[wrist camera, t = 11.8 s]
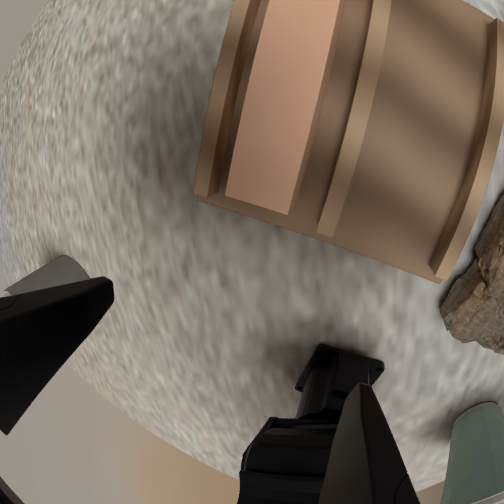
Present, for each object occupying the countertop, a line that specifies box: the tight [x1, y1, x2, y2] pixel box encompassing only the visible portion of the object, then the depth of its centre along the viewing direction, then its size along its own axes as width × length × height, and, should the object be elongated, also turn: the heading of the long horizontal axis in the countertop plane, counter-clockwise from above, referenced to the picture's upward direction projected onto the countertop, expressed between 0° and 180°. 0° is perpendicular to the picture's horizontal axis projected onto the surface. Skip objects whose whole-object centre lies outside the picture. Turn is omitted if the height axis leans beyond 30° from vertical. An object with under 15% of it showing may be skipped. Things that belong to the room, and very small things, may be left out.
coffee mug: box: [3, 256, 90, 297], centre depth 27 cm, size 13×10×10 cm
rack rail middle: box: [316, 0, 391, 237], centre depth 12 cm, size 18×1×2 cm, turn 168°
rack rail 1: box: [194, 0, 261, 197], centre depth 14 cm, size 18×1×2 cm, turn 168°
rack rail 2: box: [429, 18, 504, 281], centre depth 11 cm, size 18×1×2 cm, turn 168°
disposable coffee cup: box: [440, 402, 504, 504], centre depth 13 cm, size 11×11×15 cm
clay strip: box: [225, 0, 346, 215], centre depth 12 cm, size 16×4×3 cm, turn 168°
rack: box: [197, 0, 495, 284], centre depth 13 cm, size 20×18×1 cm
